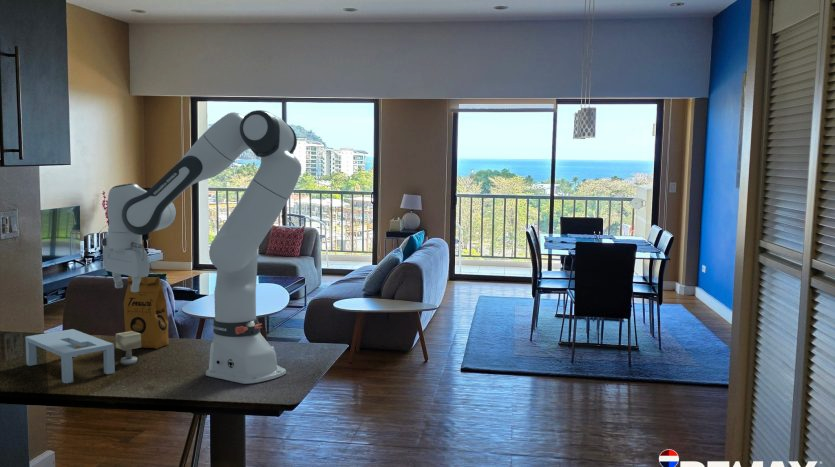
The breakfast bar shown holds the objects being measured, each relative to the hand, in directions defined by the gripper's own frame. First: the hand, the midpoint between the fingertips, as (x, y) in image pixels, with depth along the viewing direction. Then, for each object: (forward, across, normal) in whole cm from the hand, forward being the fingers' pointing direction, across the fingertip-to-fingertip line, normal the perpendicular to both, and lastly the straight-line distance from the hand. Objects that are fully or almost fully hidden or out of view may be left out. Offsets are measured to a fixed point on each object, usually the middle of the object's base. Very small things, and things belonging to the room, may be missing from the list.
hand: (126, 289), depth 199 cm
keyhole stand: (+21, +6, +14) cm, 26 cm away
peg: (+21, 0, 0) cm, 21 cm away
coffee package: (+21, +14, -13) cm, 29 cm away
